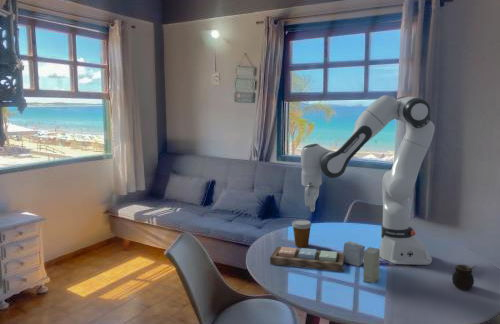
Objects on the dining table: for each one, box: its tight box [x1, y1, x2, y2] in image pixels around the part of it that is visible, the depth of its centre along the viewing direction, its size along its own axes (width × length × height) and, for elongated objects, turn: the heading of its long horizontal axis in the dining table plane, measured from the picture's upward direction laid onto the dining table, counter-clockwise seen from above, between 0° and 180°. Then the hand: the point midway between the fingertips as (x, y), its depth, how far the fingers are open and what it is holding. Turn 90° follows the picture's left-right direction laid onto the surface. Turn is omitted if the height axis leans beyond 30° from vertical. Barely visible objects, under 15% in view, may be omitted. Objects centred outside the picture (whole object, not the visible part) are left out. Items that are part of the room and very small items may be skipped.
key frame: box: [269, 246, 345, 272], centre depth 171 cm, size 31×13×3 cm, turn 72°
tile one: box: [319, 250, 337, 262], centre depth 168 cm, size 7×7×3 cm
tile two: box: [298, 247, 318, 260], centre depth 171 cm, size 7×7×3 cm
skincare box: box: [362, 246, 380, 284], centre depth 152 cm, size 6×4×12 cm
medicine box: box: [342, 240, 366, 267], centre depth 168 cm, size 8×4×9 cm, turn 46°
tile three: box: [278, 246, 298, 258], centre depth 174 cm, size 7×7×3 cm
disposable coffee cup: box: [291, 219, 312, 249], centre depth 190 cm, size 10×10×12 cm
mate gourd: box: [451, 264, 477, 291], centre depth 144 cm, size 7×8×10 cm
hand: (312, 210), depth 173 cm, fingers closed
